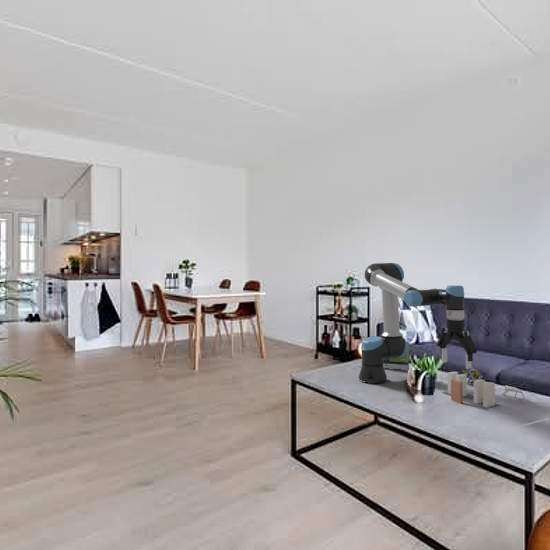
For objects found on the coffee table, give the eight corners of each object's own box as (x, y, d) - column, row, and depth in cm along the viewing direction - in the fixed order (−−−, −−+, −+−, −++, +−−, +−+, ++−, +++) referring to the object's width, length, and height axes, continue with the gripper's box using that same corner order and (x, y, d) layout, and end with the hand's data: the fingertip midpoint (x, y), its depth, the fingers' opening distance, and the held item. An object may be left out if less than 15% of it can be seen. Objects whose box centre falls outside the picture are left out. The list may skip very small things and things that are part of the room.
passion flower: (476, 397, 207) (473, 382, 201) (456, 388, 216) (453, 373, 210) (487, 382, 212) (484, 366, 206) (467, 374, 220) (464, 359, 214)
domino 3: (459, 404, 182) (459, 382, 182) (451, 401, 187) (450, 379, 187) (462, 403, 183) (462, 382, 183) (453, 400, 188) (453, 379, 187)
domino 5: (483, 405, 179) (483, 383, 179) (491, 404, 181) (491, 382, 181) (486, 407, 177) (486, 384, 177) (494, 405, 179) (494, 383, 179)
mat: (441, 393, 198) (441, 392, 198) (456, 390, 202) (456, 389, 202) (486, 410, 175) (486, 409, 175) (501, 406, 179) (501, 405, 179)
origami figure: (495, 397, 191) (495, 387, 191) (506, 394, 195) (506, 384, 195) (521, 405, 181) (521, 394, 180) (531, 401, 184) (532, 391, 184)
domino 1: (447, 392, 197) (447, 372, 197) (455, 391, 199) (455, 371, 199) (450, 393, 196) (450, 373, 195) (458, 392, 198) (458, 372, 197)
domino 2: (456, 395, 193) (455, 375, 192) (463, 394, 195) (463, 373, 194) (459, 396, 191) (458, 376, 191) (466, 395, 193) (466, 374, 193)
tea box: (409, 367, 248) (409, 343, 247) (407, 371, 239) (407, 346, 238) (384, 365, 254) (384, 341, 253) (381, 369, 245) (381, 344, 244)
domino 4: (473, 402, 184) (473, 380, 183) (481, 400, 186) (481, 379, 185) (477, 403, 182) (477, 381, 182) (484, 401, 184) (484, 380, 184)
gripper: (428, 316, 194) (429, 360, 195) (472, 322, 171) (473, 372, 172) (440, 315, 197) (441, 358, 198) (485, 321, 174) (485, 370, 175)
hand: (456, 365), depth 185 cm, fingers open, 13 cm apart
